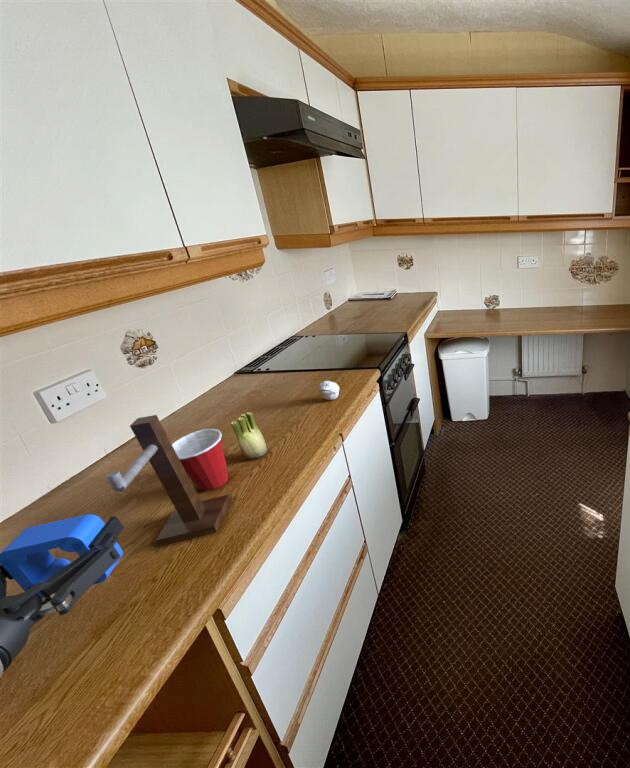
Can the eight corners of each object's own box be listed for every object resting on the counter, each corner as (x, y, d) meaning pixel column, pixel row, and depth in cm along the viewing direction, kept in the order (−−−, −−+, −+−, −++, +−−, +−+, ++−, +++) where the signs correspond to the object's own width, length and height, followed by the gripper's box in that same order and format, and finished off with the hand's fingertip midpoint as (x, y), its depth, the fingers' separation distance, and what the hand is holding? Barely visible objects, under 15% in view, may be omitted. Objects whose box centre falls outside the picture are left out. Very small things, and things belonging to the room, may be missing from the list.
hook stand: (201, 565, 74) (139, 454, 64) (137, 582, 72) (60, 470, 61) (230, 499, 91) (185, 402, 80) (179, 511, 88) (124, 413, 77)
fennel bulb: (248, 464, 103) (230, 424, 98) (242, 457, 106) (225, 417, 101) (272, 453, 106) (256, 414, 101) (266, 447, 110) (250, 408, 104)
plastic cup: (174, 497, 93) (150, 454, 88) (213, 468, 102) (193, 427, 97) (214, 501, 91) (192, 457, 86) (250, 470, 100) (232, 429, 95)
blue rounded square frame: (110, 580, 65) (77, 534, 60) (32, 600, 62) (-8, 554, 58) (126, 556, 69) (96, 512, 65) (53, 574, 67) (17, 529, 62)
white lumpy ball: (318, 405, 130) (311, 385, 127) (328, 395, 137) (322, 376, 133) (336, 404, 130) (330, 385, 127) (345, 394, 136) (340, 375, 133)
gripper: (-144, 722, 46) (5, 567, 66) (95, 651, 52) (168, 529, 71) (-198, 684, 43) (-25, 533, 62) (64, 614, 49) (148, 496, 68)
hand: (78, 531), depth 67 cm, fingers closed on blue rounded square frame, 10 cm apart
